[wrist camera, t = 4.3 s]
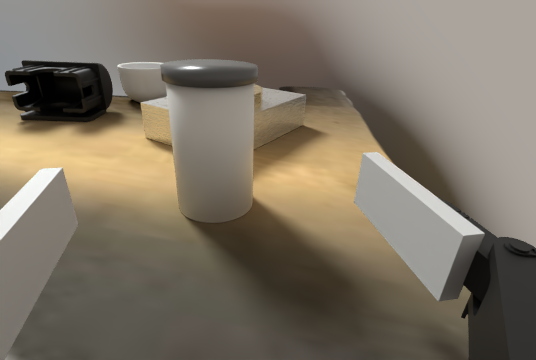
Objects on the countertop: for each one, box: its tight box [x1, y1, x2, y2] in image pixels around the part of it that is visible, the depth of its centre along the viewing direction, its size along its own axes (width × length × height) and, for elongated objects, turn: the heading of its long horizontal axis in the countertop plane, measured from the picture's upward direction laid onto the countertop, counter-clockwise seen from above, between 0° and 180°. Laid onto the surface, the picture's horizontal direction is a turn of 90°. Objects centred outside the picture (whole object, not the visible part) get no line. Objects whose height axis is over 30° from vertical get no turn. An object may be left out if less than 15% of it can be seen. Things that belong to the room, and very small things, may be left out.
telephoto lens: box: [160, 59, 258, 223], centre depth 22 cm, size 6×6×10 cm
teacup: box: [117, 62, 167, 102], centre depth 52 cm, size 10×8×5 cm
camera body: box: [141, 84, 306, 149], centre depth 39 cm, size 16×12×6 cm
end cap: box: [5, 61, 113, 122], centre depth 43 cm, size 10×7×7 cm
